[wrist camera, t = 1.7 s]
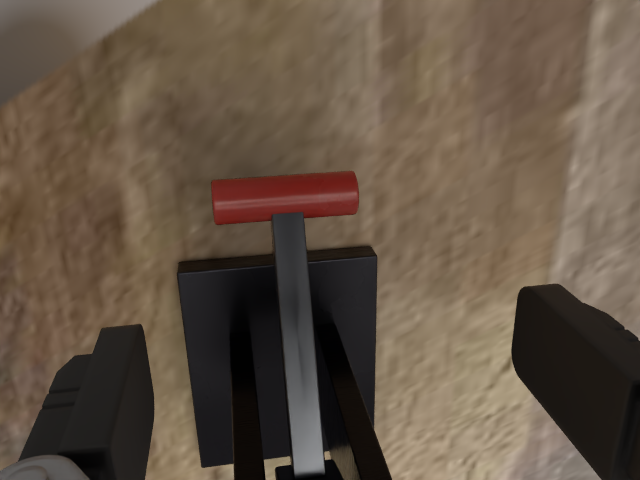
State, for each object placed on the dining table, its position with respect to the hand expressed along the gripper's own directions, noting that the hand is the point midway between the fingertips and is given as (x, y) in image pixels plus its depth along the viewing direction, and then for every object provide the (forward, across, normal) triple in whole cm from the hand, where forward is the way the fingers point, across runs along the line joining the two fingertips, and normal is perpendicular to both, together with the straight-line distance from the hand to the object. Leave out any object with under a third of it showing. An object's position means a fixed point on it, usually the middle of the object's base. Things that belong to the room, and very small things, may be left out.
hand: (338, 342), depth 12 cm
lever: (+8, 0, +5) cm, 9 cm away
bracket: (+14, 0, +10) cm, 17 cm away
